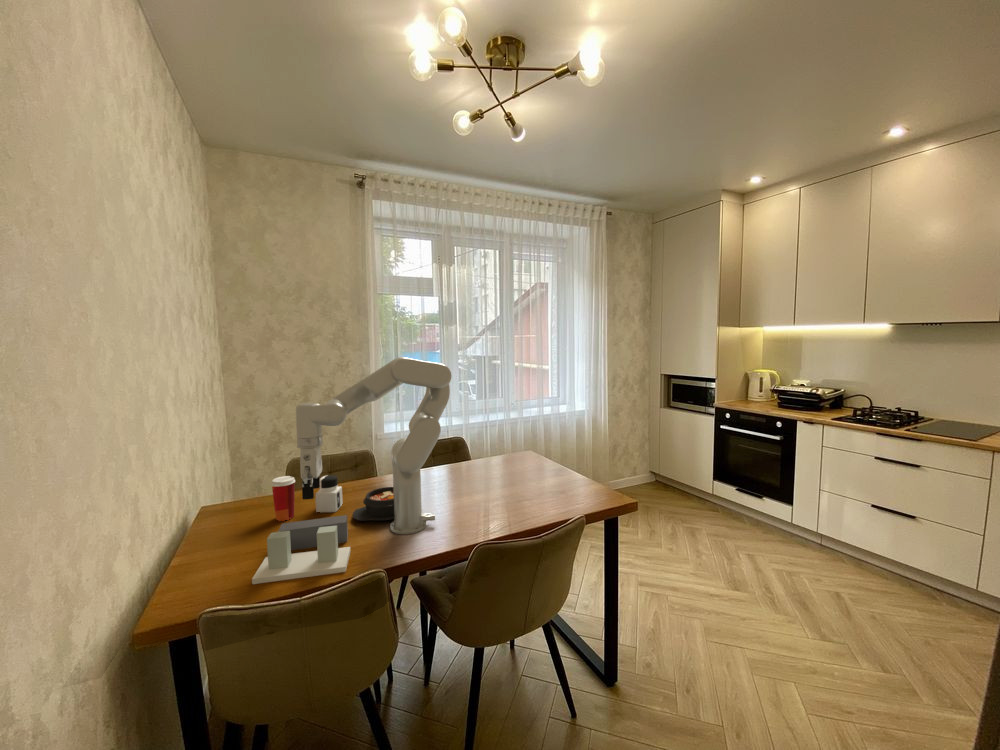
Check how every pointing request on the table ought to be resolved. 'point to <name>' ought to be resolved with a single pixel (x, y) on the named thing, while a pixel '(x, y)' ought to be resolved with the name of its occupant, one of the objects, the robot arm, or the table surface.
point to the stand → (302, 557)
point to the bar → (314, 531)
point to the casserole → (377, 506)
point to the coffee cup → (283, 497)
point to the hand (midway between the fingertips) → (311, 493)
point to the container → (328, 495)
